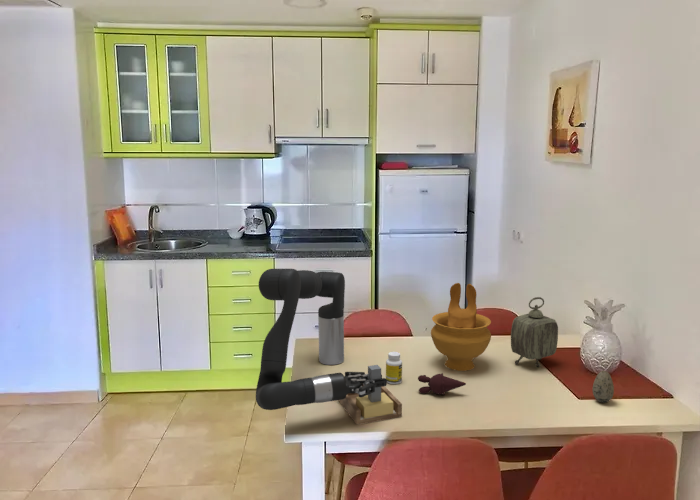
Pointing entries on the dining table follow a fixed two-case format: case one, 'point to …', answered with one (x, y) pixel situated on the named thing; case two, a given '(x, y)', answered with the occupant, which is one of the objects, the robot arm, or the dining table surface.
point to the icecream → (439, 384)
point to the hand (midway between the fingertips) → (383, 379)
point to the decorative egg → (603, 387)
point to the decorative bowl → (461, 331)
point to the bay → (355, 414)
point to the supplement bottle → (394, 368)
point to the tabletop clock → (534, 335)
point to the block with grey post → (374, 398)
